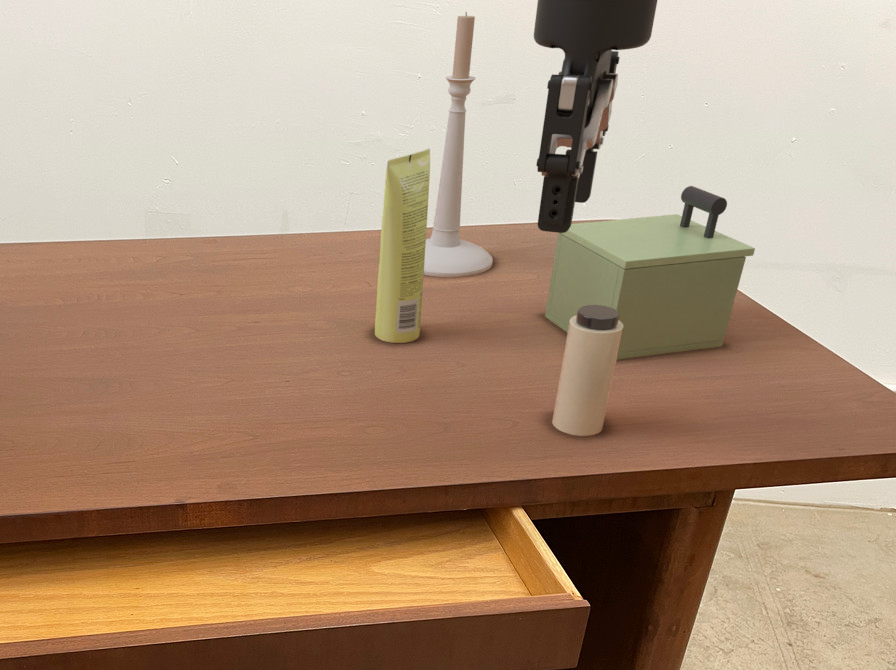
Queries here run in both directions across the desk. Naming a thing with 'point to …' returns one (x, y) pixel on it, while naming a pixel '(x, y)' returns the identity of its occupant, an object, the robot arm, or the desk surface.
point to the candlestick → (455, 176)
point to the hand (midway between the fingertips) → (564, 215)
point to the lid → (662, 236)
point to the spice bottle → (587, 370)
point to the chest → (647, 298)
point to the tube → (403, 248)
